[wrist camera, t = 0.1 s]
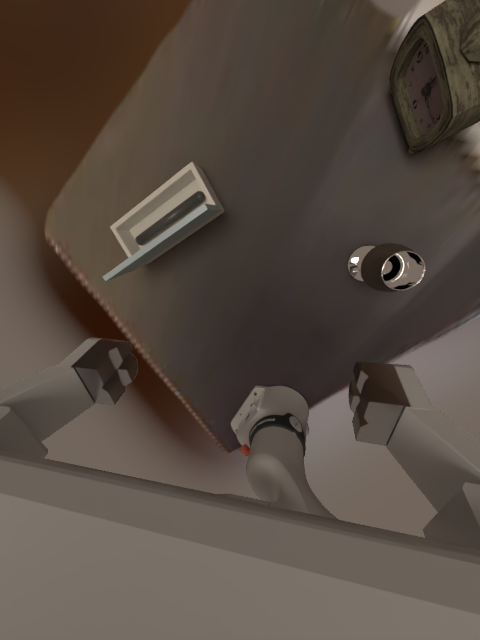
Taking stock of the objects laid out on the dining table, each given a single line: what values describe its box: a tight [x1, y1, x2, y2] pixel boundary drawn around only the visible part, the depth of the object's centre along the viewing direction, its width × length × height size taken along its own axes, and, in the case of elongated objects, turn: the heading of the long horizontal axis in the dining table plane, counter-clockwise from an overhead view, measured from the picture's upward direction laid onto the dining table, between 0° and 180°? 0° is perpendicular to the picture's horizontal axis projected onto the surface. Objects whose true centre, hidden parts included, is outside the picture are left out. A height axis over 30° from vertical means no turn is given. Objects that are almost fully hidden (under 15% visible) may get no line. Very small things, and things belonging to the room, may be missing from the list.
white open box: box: [110, 162, 225, 265], centre depth 58 cm, size 10×24×6 cm, turn 119°
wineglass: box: [348, 243, 425, 292], centre depth 45 cm, size 8×8×20 cm
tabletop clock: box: [390, 0, 480, 155], centre depth 34 cm, size 14×9×25 cm, turn 24°
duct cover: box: [103, 204, 221, 281], centre depth 51 cm, size 11×25×1 cm
